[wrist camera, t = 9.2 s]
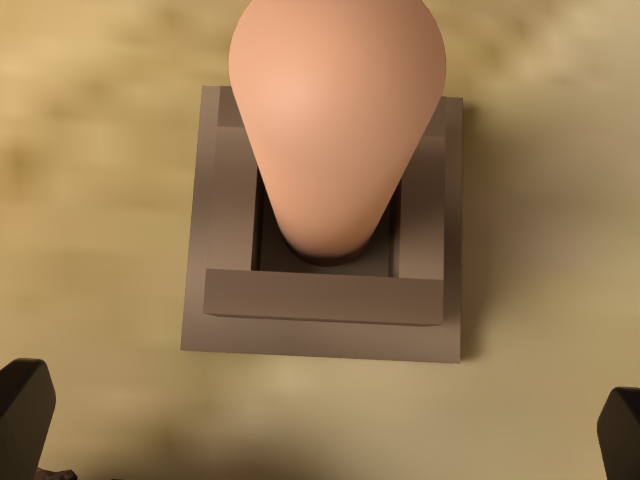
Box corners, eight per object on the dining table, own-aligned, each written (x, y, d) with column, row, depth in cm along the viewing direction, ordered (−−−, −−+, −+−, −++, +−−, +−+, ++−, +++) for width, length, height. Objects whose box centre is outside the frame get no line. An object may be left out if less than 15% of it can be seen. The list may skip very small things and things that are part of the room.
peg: (393, 218, 23) (491, 58, 10) (328, 287, 22) (342, 212, 9) (325, 155, 23) (333, -78, 10) (259, 221, 23) (183, 64, 10)
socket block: (453, 362, 23) (482, 367, 19) (186, 349, 23) (159, 352, 19) (456, 107, 24) (483, 63, 21) (206, 95, 25) (186, 49, 21)
